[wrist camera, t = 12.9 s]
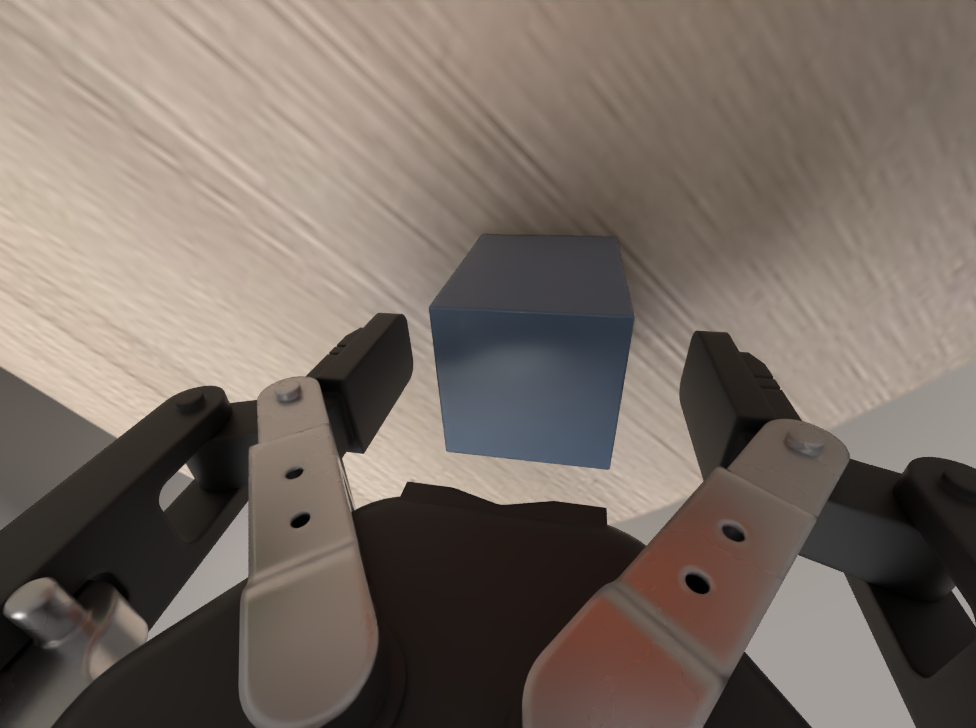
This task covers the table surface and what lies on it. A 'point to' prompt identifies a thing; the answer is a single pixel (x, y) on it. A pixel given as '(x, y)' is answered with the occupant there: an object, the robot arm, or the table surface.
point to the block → (534, 349)
